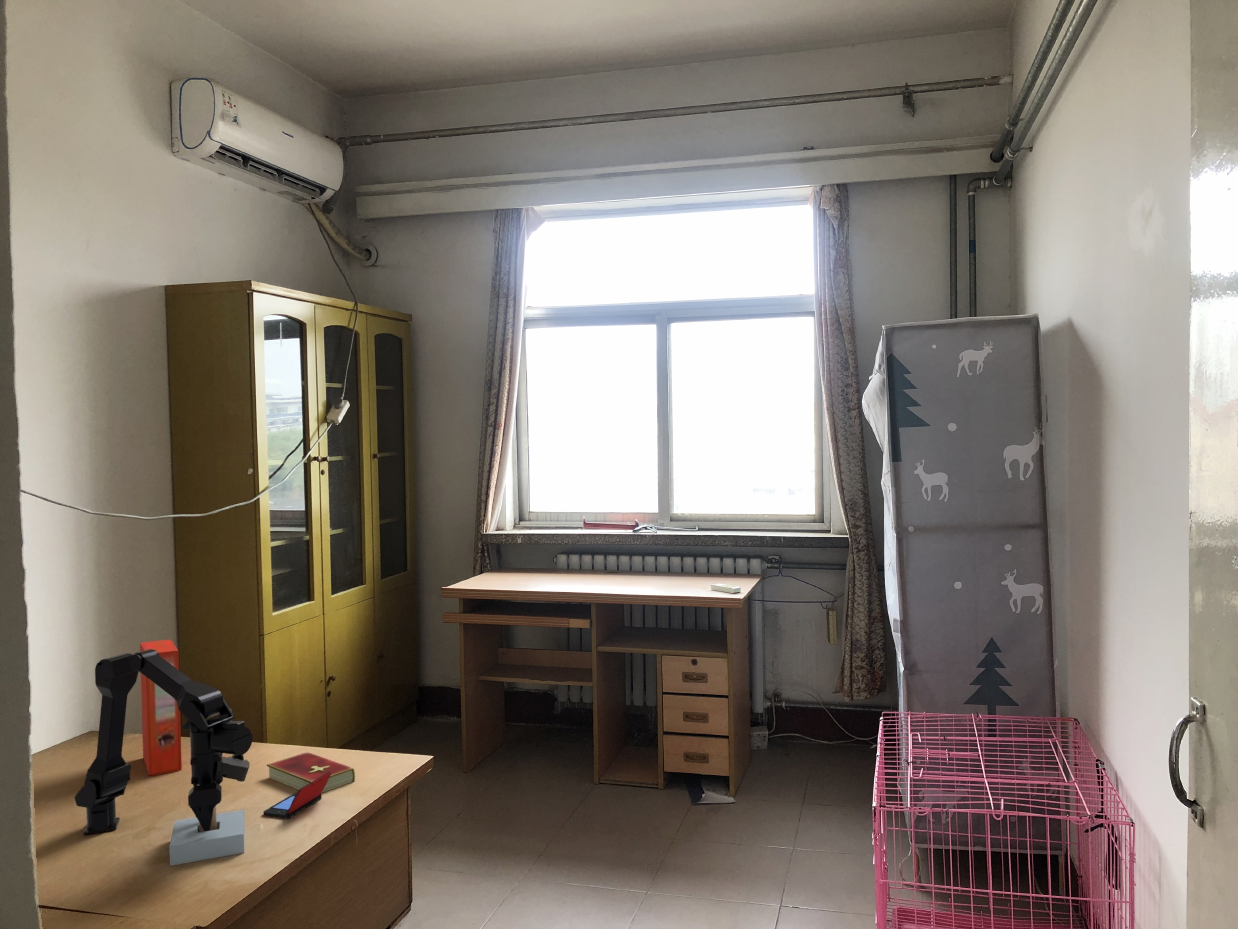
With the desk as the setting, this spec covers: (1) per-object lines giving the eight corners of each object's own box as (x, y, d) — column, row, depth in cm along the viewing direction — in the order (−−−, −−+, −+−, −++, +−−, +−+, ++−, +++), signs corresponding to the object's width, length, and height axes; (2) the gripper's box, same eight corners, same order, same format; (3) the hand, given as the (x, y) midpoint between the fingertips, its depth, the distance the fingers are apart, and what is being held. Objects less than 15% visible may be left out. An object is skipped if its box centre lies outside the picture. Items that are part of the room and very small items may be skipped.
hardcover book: (309, 766, 245) (308, 750, 245) (355, 783, 231) (354, 766, 231) (267, 779, 236) (266, 763, 235) (312, 798, 222) (312, 781, 222)
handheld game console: (296, 796, 223) (295, 766, 223) (333, 801, 219) (332, 770, 219) (260, 817, 211) (259, 785, 211) (299, 822, 208) (298, 789, 207)
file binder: (175, 752, 258) (170, 639, 257) (183, 770, 243) (178, 650, 242) (143, 758, 253) (138, 643, 253) (149, 776, 239) (144, 654, 238)
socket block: (175, 838, 200) (174, 820, 200) (244, 827, 205) (244, 809, 205) (170, 865, 187) (169, 846, 187) (244, 852, 192) (243, 833, 192)
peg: (201, 844, 197) (199, 807, 196) (217, 841, 198) (216, 804, 198) (200, 850, 194) (199, 812, 194) (216, 847, 195) (215, 810, 195)
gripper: (246, 758, 190) (248, 832, 190) (246, 732, 207) (248, 800, 207) (186, 766, 185) (189, 842, 186) (192, 739, 203) (194, 809, 203)
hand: (208, 822), depth 196 cm, fingers open, 9 cm apart
